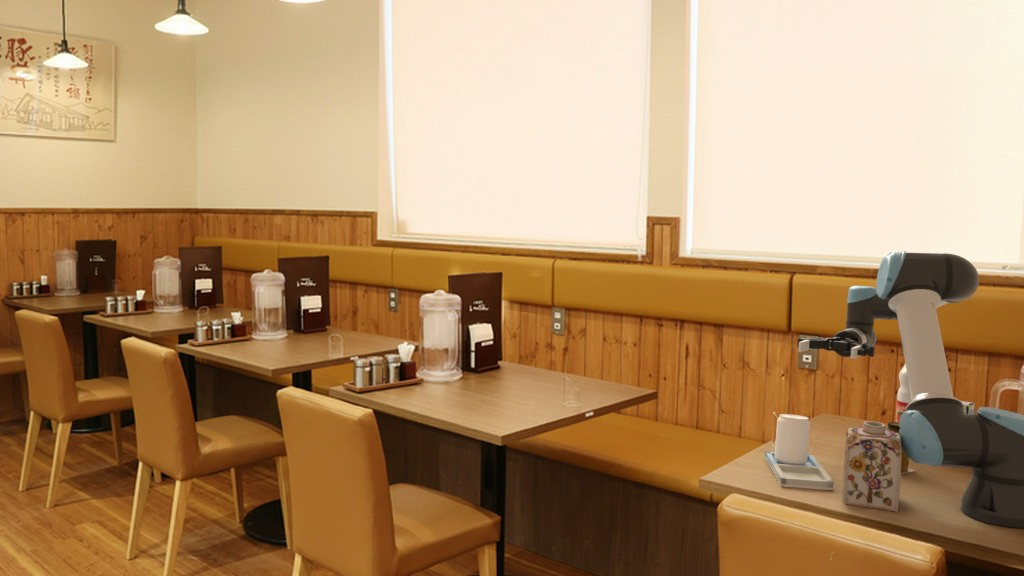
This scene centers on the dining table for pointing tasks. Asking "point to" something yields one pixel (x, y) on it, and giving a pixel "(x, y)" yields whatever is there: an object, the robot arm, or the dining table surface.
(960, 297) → the robot arm
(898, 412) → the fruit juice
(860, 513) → the dining table surface
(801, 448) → the beverage can
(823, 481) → the divided tray
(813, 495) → the dining table surface
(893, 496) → the decorative jar
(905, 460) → the condiment
